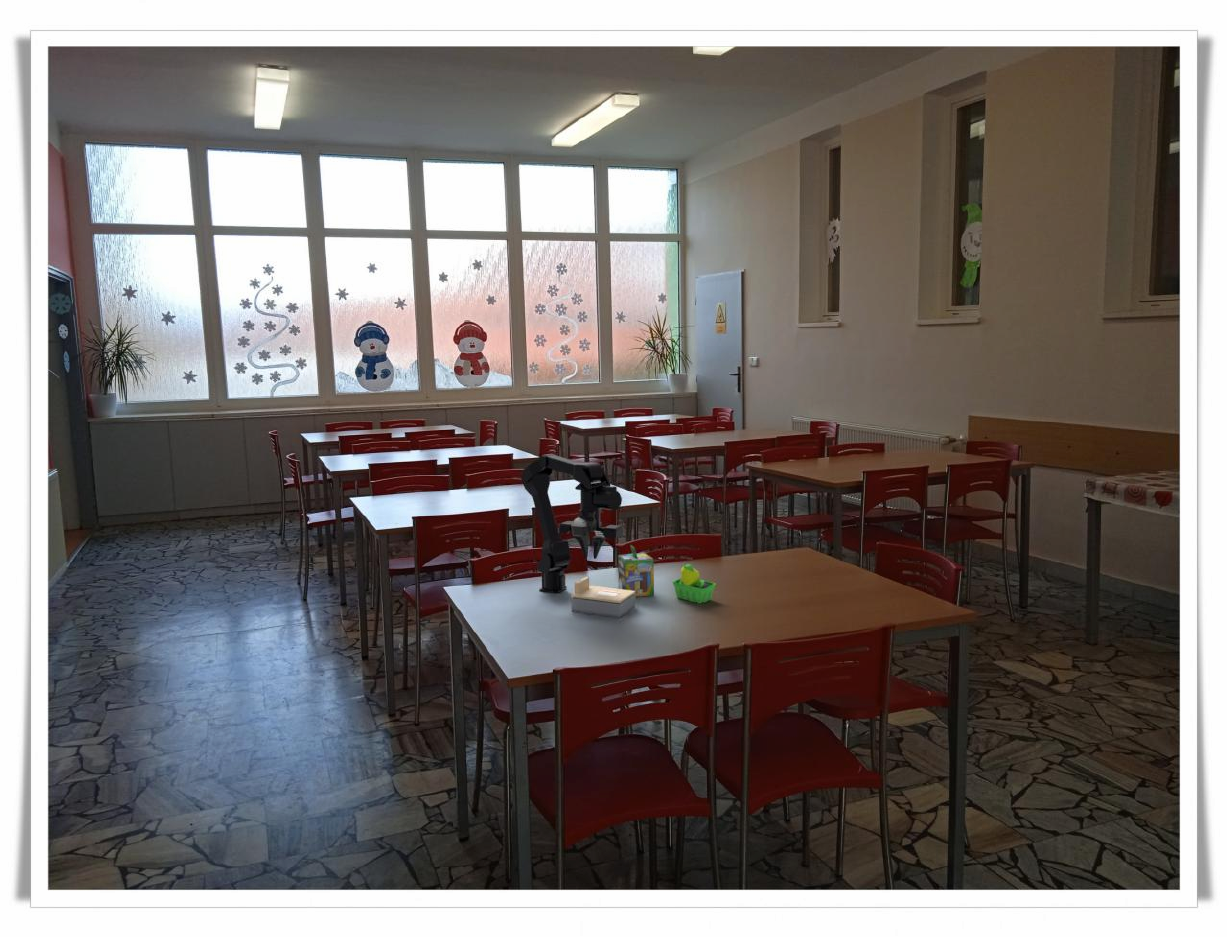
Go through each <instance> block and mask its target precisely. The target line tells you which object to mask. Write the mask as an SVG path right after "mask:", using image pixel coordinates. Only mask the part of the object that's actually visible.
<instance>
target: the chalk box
mask: <svg viewBox="0 0 1227 937" xmlns="http://www.w3.org/2000/svg"><path fill="white" fill-rule="evenodd" d="M629 547H630V550H631V553H627V554H626V553H625V554H619V555H618V556H617V561H618V562H617V565H618V566H617V568H618V571H617V572H618V589H623V590H632V591H635V593H634V594H635V598H640V597H649V596H650V597H651V596H655V577H654V576H655V575H654V574H655V570H654V567H655V566H654V562H655V561H654V558H653V557H651V556H650V555H649V554H647V553H643V552H641V553H637V552H636V548H635V546H633V545H632V544H630V546H629Z"/></svg>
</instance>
